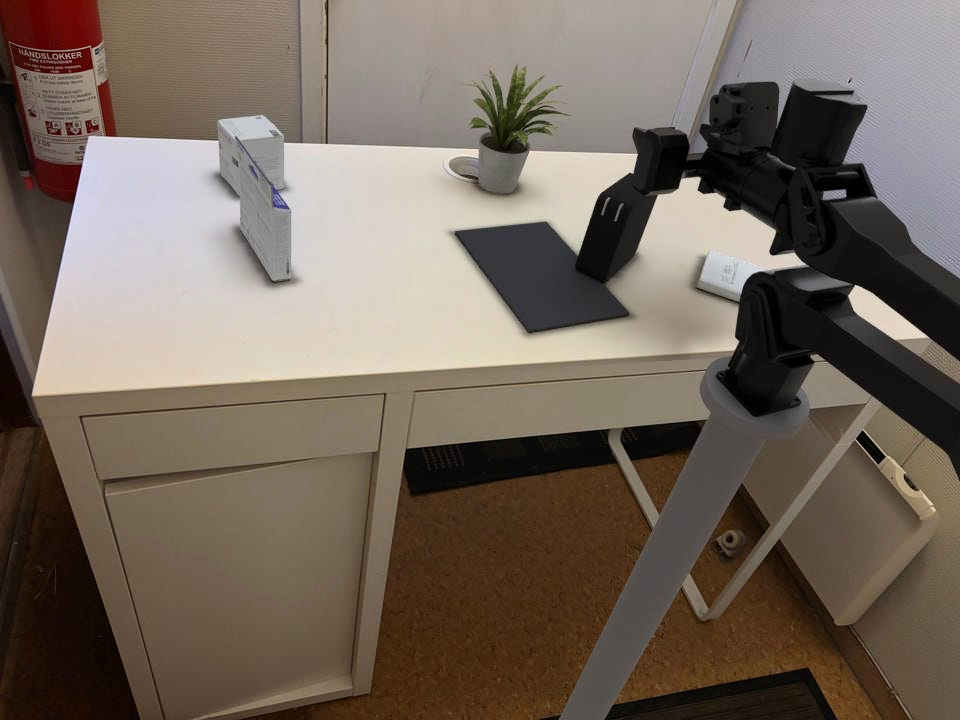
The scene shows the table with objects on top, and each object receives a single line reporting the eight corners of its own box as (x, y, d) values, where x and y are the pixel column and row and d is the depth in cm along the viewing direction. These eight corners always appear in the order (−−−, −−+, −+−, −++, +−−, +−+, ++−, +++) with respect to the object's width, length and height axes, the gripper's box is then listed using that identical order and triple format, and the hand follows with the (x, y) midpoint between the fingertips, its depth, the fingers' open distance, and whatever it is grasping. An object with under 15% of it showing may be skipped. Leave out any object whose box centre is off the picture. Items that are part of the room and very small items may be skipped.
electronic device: (635, 255, 96) (663, 183, 90) (603, 284, 88) (630, 209, 82) (606, 241, 97) (631, 170, 91) (572, 269, 90) (597, 194, 84)
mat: (628, 315, 85) (629, 313, 85) (528, 333, 80) (529, 330, 80) (545, 224, 98) (546, 221, 98) (454, 233, 93) (455, 230, 93)
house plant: (483, 223, 96) (506, 98, 85) (421, 174, 103) (435, 53, 93) (563, 201, 104) (593, 84, 93) (500, 157, 111) (521, 44, 101)
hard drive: (797, 324, 89) (695, 288, 92) (800, 290, 95) (705, 258, 98) (802, 313, 88) (700, 277, 91) (806, 279, 94) (709, 247, 97)
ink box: (294, 280, 80) (294, 182, 73) (272, 284, 79) (270, 185, 72) (259, 225, 87) (255, 131, 80) (239, 228, 86) (233, 133, 79)
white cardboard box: (219, 175, 95) (215, 119, 90) (265, 167, 98) (263, 113, 93) (239, 197, 91) (236, 140, 87) (286, 189, 95) (285, 133, 90)
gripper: (866, 98, 71) (755, 53, 83) (711, 105, 64) (612, 54, 75) (823, 207, 78) (725, 151, 89) (678, 224, 71) (591, 161, 82)
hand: (668, 129), depth 84 cm, fingers open, 9 cm apart
